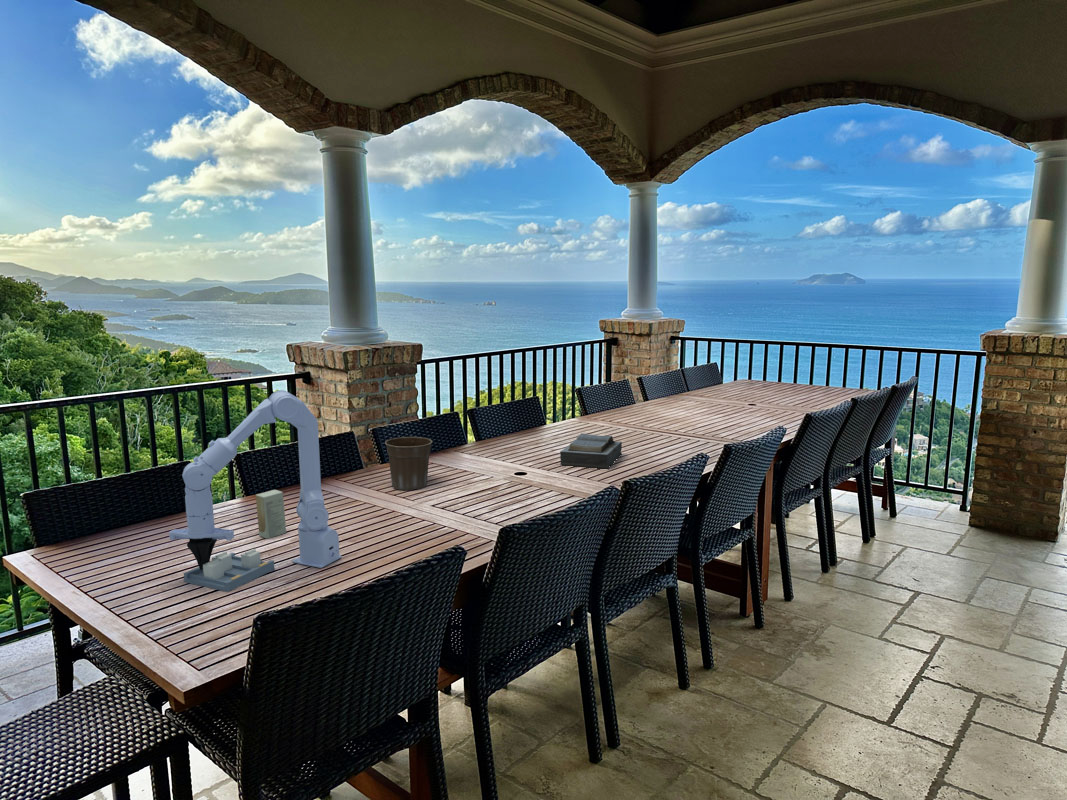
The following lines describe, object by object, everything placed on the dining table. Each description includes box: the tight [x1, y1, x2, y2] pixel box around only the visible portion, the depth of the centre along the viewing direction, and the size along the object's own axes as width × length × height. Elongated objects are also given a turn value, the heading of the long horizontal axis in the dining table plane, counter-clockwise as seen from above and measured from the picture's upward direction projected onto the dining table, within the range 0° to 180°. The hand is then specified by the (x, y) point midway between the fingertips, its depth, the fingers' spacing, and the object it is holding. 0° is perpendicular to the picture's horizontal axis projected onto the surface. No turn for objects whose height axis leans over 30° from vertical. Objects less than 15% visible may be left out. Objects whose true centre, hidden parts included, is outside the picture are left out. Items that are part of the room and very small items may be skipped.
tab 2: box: [211, 551, 232, 572], centre depth 170 cm, size 3×3×4 cm
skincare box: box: [255, 489, 287, 540], centre depth 197 cm, size 6×4×12 cm
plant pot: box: [384, 436, 433, 492], centre depth 245 cm, size 16×16×16 cm
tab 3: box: [240, 548, 262, 568], centre depth 172 cm, size 3×3×4 cm
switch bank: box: [183, 552, 275, 593], centre depth 169 cm, size 14×14×2 cm
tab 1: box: [203, 559, 224, 580], centre depth 165 cm, size 3×3×4 cm
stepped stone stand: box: [559, 433, 623, 470], centre depth 280 cm, size 23×27×10 cm
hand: (204, 568), depth 167 cm, fingers closed
